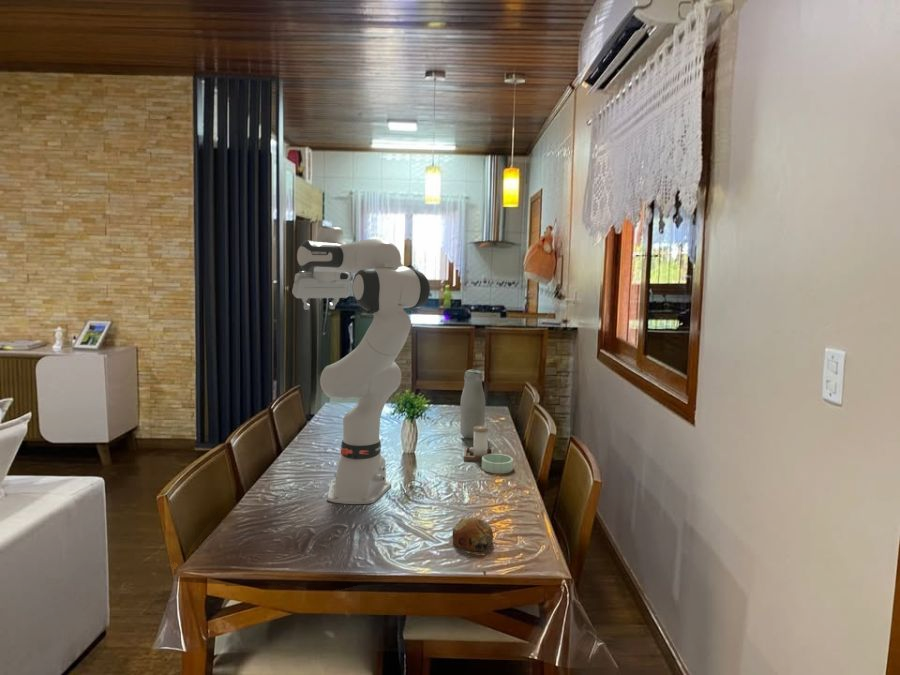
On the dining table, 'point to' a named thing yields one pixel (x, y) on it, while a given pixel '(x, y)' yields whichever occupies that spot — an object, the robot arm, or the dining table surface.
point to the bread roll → (472, 534)
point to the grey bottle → (472, 403)
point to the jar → (480, 441)
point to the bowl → (497, 463)
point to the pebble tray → (477, 459)
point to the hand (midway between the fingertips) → (319, 308)
